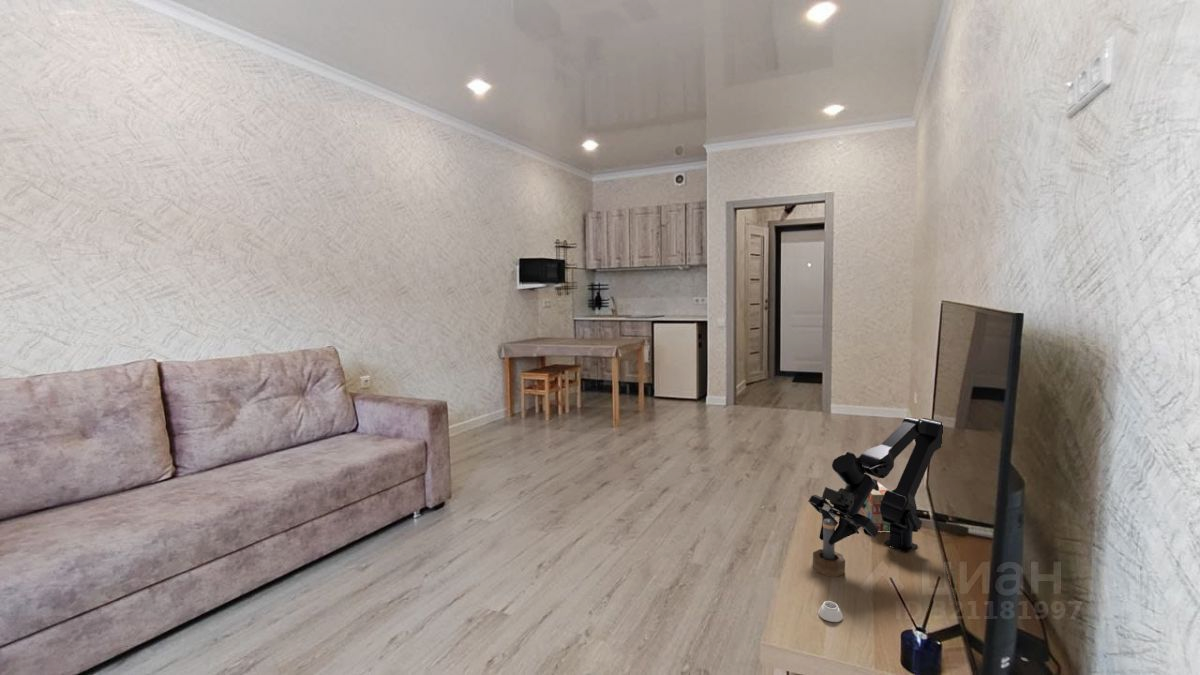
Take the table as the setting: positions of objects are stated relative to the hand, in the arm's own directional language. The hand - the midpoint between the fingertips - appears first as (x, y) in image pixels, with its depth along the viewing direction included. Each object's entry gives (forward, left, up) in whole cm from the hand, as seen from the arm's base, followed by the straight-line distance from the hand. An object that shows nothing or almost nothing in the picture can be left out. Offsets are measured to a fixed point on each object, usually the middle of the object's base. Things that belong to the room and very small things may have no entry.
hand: (825, 541), depth 142 cm
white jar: (+17, +13, -8) cm, 23 cm away
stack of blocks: (-40, -12, -8) cm, 42 cm away
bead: (-1, 0, -8) cm, 8 cm away
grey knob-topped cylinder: (-1, 0, -7) cm, 7 cm away
